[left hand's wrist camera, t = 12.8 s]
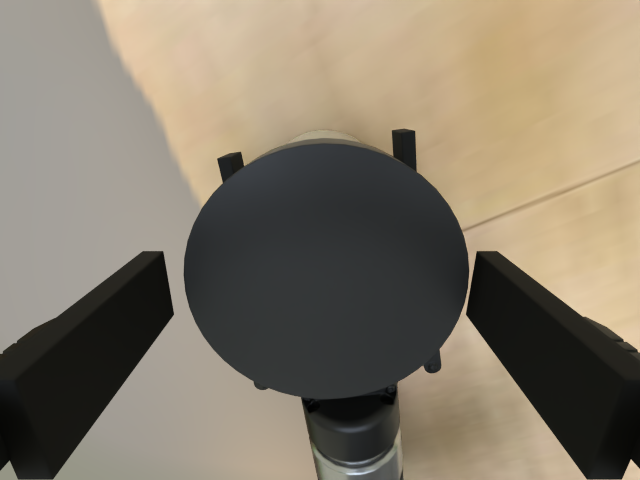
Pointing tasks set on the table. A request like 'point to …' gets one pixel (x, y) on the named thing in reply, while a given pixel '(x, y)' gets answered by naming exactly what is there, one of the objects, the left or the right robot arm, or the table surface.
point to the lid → (326, 269)
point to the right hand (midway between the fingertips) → (314, 143)
